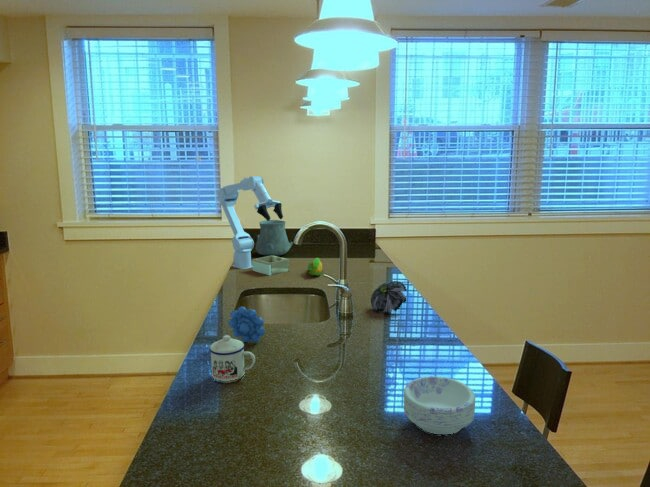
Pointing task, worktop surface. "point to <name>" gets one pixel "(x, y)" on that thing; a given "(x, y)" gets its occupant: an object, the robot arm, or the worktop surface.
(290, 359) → the worktop surface
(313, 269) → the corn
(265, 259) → the crate
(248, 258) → the robot arm
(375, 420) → the worktop surface
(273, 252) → the vessel
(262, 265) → the tailgate
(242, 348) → the teacup with lid
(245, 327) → the blue flower ornament
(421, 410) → the paper bowls
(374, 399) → the worktop surface
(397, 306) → the decorative flower
